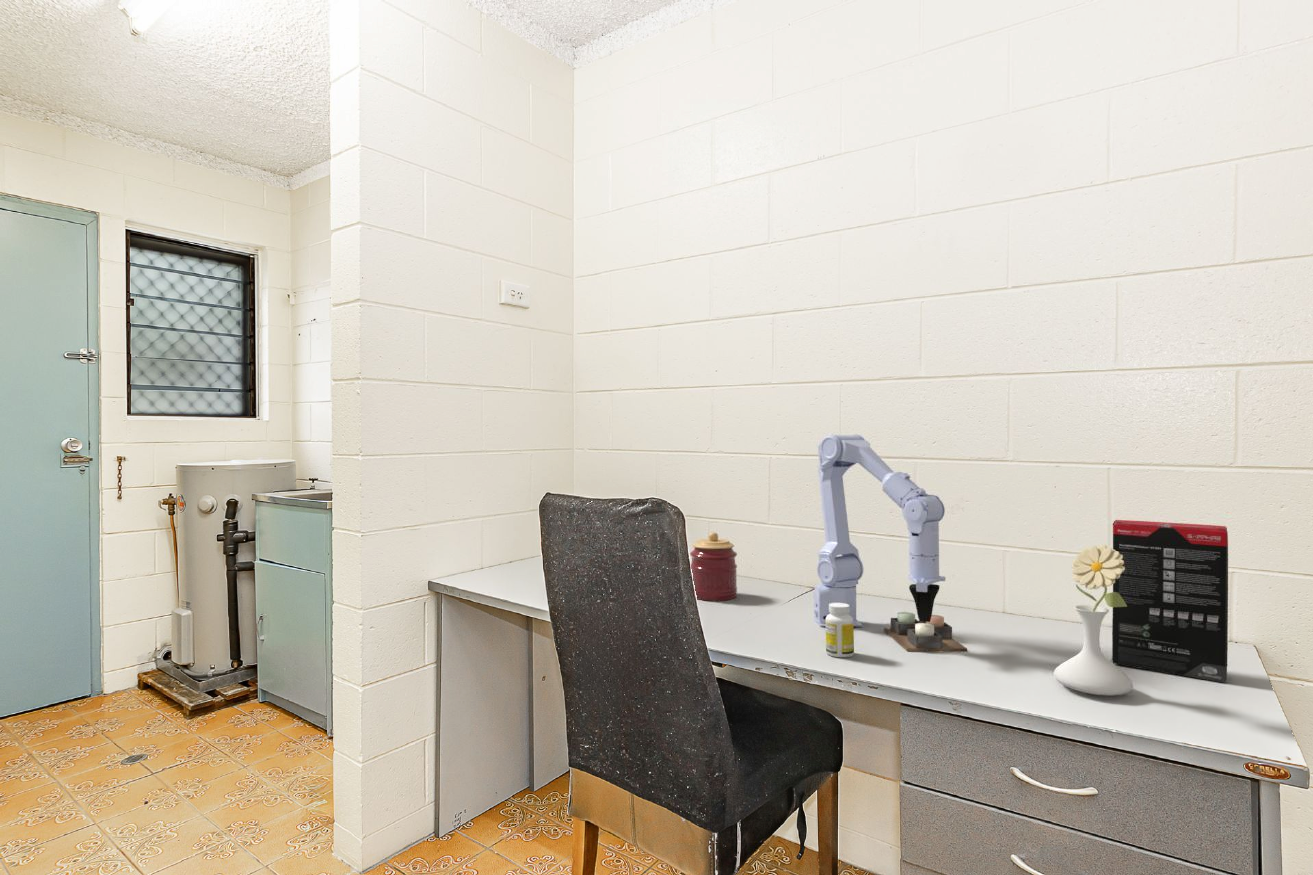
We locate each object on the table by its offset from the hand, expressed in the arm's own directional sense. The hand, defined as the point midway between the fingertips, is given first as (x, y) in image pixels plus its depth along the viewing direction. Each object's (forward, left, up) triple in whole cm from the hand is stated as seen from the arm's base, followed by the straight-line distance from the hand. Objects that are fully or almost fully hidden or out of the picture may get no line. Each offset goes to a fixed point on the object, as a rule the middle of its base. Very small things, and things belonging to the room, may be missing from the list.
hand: (924, 620), depth 140 cm
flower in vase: (+19, -25, -6) cm, 32 cm away
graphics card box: (+39, -14, -6) cm, 42 cm away
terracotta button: (+5, +7, -4) cm, 9 cm away
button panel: (+1, +5, -6) cm, 7 cm away
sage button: (-1, +10, -4) cm, 10 cm away
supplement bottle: (-19, -5, -6) cm, 20 cm away
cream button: (0, 0, -4) cm, 4 cm away
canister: (-41, +47, -6) cm, 63 cm away
